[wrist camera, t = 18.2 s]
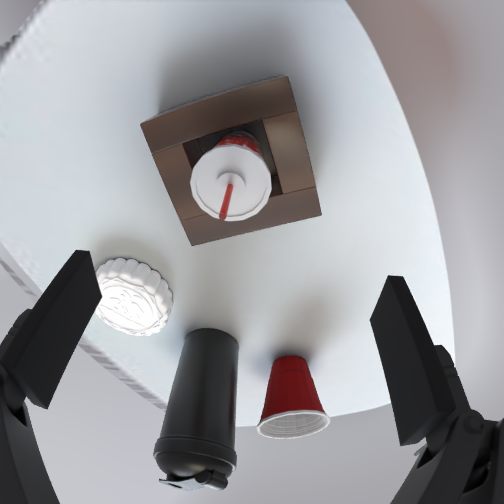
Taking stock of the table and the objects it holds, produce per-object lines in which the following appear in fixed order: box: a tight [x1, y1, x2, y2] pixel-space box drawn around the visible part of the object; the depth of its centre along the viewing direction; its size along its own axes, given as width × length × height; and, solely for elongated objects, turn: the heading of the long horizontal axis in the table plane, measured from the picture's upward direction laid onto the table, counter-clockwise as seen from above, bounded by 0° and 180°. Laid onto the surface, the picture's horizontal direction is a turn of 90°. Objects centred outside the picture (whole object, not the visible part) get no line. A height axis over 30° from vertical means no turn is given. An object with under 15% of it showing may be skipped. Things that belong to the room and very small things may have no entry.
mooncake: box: [95, 258, 173, 336], centre depth 40 cm, size 12×12×4 cm
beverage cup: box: [190, 131, 272, 221], centre depth 25 cm, size 6×6×14 cm
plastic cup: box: [257, 356, 331, 439], centre depth 45 cm, size 11×11×12 cm
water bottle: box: [153, 328, 239, 490], centre depth 38 cm, size 10×10×23 cm
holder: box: [140, 75, 322, 246], centre depth 28 cm, size 13×13×5 cm
